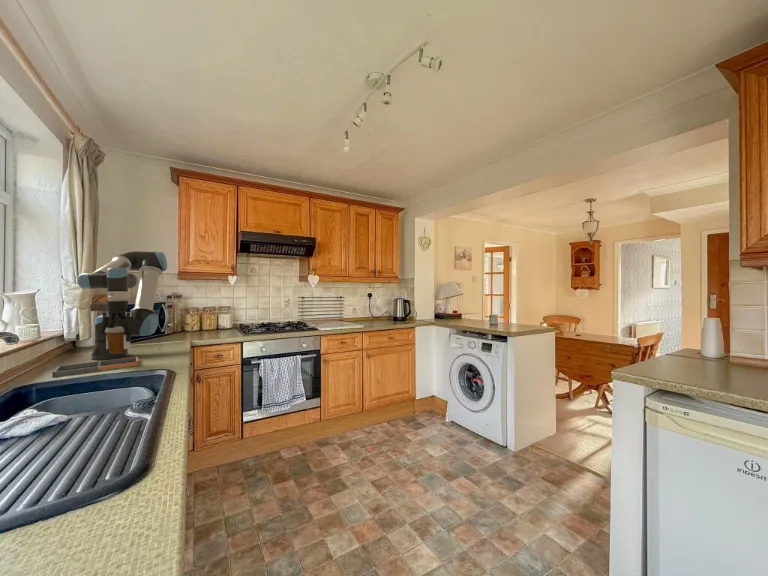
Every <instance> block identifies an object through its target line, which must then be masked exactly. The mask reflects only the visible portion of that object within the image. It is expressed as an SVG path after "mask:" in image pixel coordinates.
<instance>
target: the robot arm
mask: <svg viewBox="0 0 768 576" xmlns="http://www.w3.org/2000/svg"><path fill="white" fill-rule="evenodd" d="M167 270H168V261H167V258H166V254H165V253H164V252H162V251H161V252H160V251H157V250H156V251H137V250H136V251H135V250H134V251H127V252H124V253H122V254H118V255H116V256H115V257H112V260H111V261H110V262H108V263H106V264H105V265H103V266H101V267H100V268H97V270H94V271H93V272H90V273H89V272H87V273H80V274H79V275H78V277H77V283H78V286H79V287H80V289H87V290H88V289H89V290H92V289H93V290H95V289H96V290H97V289H101V290H102V289H106V290H107V293H106V294H107V296H106V297H107V305H106V306H107V309H108V312H103V313H102V315H98V316H96V317H95V320H94V321H95V322H94V337H95V340H94V341H95V343H94V347H93V349H92V351H91V354H90V355H91V356H90V359H91V360H93V361H105V360H113V359H120V358H125V357H127V356H129V350H128V349H131V342H132V337H141V336H142V337H143V336H144V337H145V336H151V335H153V334H154V333H155V332H156V330H157V328H158V326H159V316H158V314H156V312H155V311H154V307H155V306H154V305H155V300H156V299H155V298H156V294H157V288H158V283H159V277H160V276H162V275H163V272H166V271H167ZM129 271H130V272H131V271H138V272H139V273H140V277H139V278H140V279H138V277H137V276H136V275H135V274H133V273H130V272H129ZM136 286H138V287H137V292H136V297H135V301H134V302H135V303H134V307H133V308H132V309H130V311H127V310H128V308H129V301H128V299H129V293H128V292H129V289H133V288H136ZM118 326H122V328H123V327H124V330H125V331H124V332H125V334H124V349H127V352H124V353H117V354H110V352H109V347H108V341H107V335H106V333H105V330H106V328H114V327H118Z"/></svg>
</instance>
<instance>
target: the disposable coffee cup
mask: <svg viewBox="0 0 768 576" xmlns="http://www.w3.org/2000/svg"><path fill="white" fill-rule="evenodd" d="M124 331H125V330H124V327H123V328H122V326H118V327H114V328H106V330H105V333H106V335H107V341H108V347H109V352H110V354H117V353H124V352H127V349H124V334H125V332H124Z"/></svg>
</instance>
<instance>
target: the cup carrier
mask: <svg viewBox="0 0 768 576" xmlns="http://www.w3.org/2000/svg"><path fill="white" fill-rule="evenodd" d="M129 361H133V362H129ZM139 361H140V360H139V356H132V357H131V356H130V357H121V358H113V359H104V360H95V361H89V362H81V363H73V364H64V365H63V364H62V365H58V366H56V367H55V369H54V370H53V371H52V378H56V376H58V377H63V375H65V376H71V375H70V374H73V375H78V374H77V373H81V374H83V373H82V372H88V373H91V372H90V371H96V372H100V371H99V370H103V371H108V370H107V369H111V370H115V369H114V368H119V369H124V368H123V367H126V368H130V367H129V366H134V367H137V366H136V365H139V366H140V364H139ZM122 362H125V363H122ZM113 363H116V364H113ZM105 364H108V365H105ZM90 366H92V367H90ZM82 367H84V368H82ZM75 368H76V369H75ZM67 369H68V370H67Z"/></svg>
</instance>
